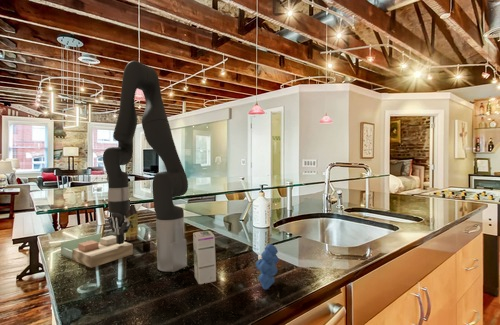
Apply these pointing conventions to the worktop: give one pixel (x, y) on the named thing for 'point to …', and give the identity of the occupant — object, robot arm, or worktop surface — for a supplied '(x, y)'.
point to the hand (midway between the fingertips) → (120, 243)
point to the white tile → (108, 240)
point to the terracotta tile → (88, 245)
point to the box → (73, 244)
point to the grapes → (267, 266)
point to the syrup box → (204, 257)
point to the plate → (102, 254)
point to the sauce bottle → (132, 224)
